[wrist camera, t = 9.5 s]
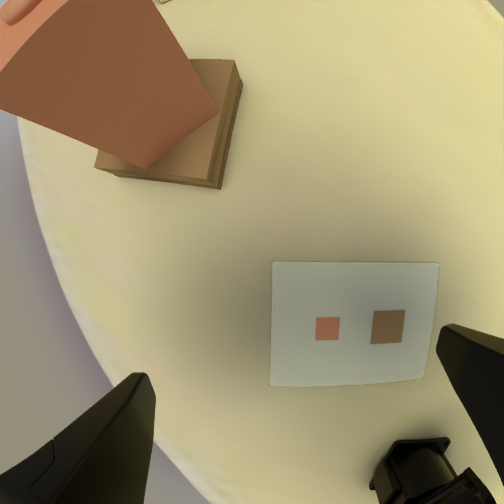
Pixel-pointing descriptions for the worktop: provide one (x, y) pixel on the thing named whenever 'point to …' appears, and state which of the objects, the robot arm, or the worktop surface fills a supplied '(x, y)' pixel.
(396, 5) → the worktop surface
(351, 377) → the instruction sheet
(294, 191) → the worktop surface
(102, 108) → the tall brick
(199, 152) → the base brick
